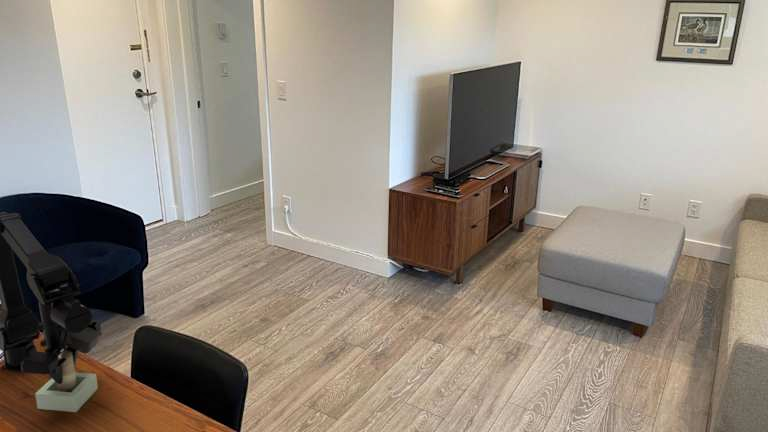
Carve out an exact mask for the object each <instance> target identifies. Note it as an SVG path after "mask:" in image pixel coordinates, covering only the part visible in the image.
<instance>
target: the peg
mask: <svg viewBox="0 0 768 432" xmlns="http://www.w3.org/2000/svg"><path fill="white" fill-rule="evenodd" d="M61 358H62V359H67V360H66V361H65V362H64V363H63V364H62V375H63V380H62V383H61V384H58V383H56V385H57V391H60V392H72V391H73V390H74V389H75V388H76V387H77V383H76V376H75V372H76V370H75V369H76V368H74V362H73V355H72V352H71V351H69V350H63V351H62V352H61Z"/></svg>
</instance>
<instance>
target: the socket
mask: <svg viewBox="0 0 768 432" xmlns="http://www.w3.org/2000/svg"><path fill="white" fill-rule="evenodd" d="M75 376H76V383H77V387H76V388H75V389H74V390H73V391H72V392H60V391H57V385H56V382H55V381H54V380H53V379H52V377H51V379H49V380H48V381H47V382H46V383H45V384H44V385H43V386H42V387H41V388H39V390H37V391H36V392H35V393H34V396H35V400H36V401H35V402H36V407H37V409H38V410H46V411H47V410H48V411H58V412H68V413H69V412H70V413H77V412H78V411H79V410H80V408H82V407H83V405H84V404H85V403H86V402H87V401H88V400H89V399H90V398H91V397H92V395H93V394H95V392H96V391H97V390H98V389H99V387H98V386H99V385H98V379H97V373H87V372H76V371H75Z"/></svg>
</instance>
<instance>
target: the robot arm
mask: <svg viewBox="0 0 768 432" xmlns="http://www.w3.org/2000/svg"><path fill="white" fill-rule="evenodd" d="M13 253H15V254H16V256H17V257H18V258H19V260H20V261H21V262H22V263H23V265H24V266H25V268H26V280H27V281H26V282H27V284H28V286H29V289H31V291H32V293H33V294H34V296H35V297H36V299H37V302H38V308H39V314H40V319H41V322H40V320H39V319H38V318H37V315H36V313H35V312H34V311H32V310H31V309H30V308H28V306H26V305H25V302H24V300H25V299H24V296H23V291H22V288H21V285H20V284H21V283H20V280H19V279H20V278H19V275H18V270H17V266H16V262H15V258H14V254H13ZM68 285H69V287H67V286H68ZM79 286H80V282H79V281H78V279H77V277H76V276H75V274H74V273H73V271H72V269H71V268H70V266H69V265H68V264H66V262H64V260H63V259H61V258H60V257H59V256H58V255H56V254H51V253H49V252H47V251H46V250H45V249H44V247H43V246H42V245H41V244H40V242H39V241H38V240H37V238H35V236H34V235H33V234H32V232H31V231H30V230H29V228H28V227H27V226H26V224H24V220H23V217H22V215H21V214H20V213H15V212H13V213H8V212H6V211H3V212H0V306H1V309H0V351H1V352H2V353H3V359H4V360H3V361H4V364H3V365H2V366H0V368H1V370H5V371H8V370H9V371H20V372H22V373H27V374H38V375H48V376H50V377H51V378H52V379H53V380H54V381H55V382H56V383H58V384H61V383H62V380H63V375H62V364H63V363H64V362H65V361H66V360H67V359H62V358H61V352H62V351H63V350H69V351H71V352H72V355H73V362H74V369H76V362H77V358H78V354H79V352H80V353H82V354H88V353H90V352H91V351H92V349H93V348H95V347H96V346H97V344H98V340H99V338H100V337H101V336H102V335H103V333H102V327H101V323H100V321H97V320H95V319H93V314H92V312H91V311H90V309H89V308H88V307H87V306H84V305H83V304H81V301H80V300H79V299H75V295H78V294H81V289H80V287H79ZM63 287H66V288H63ZM60 288H63V289H60ZM92 319H93V320H92ZM40 331H42V333H43V339H41V341H40V342H39V343H40V347H46V348H45V350H43V351H37V347H36V345H35V340H39V339H40V336H41V335H40V333H41V332H40Z"/></svg>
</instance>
